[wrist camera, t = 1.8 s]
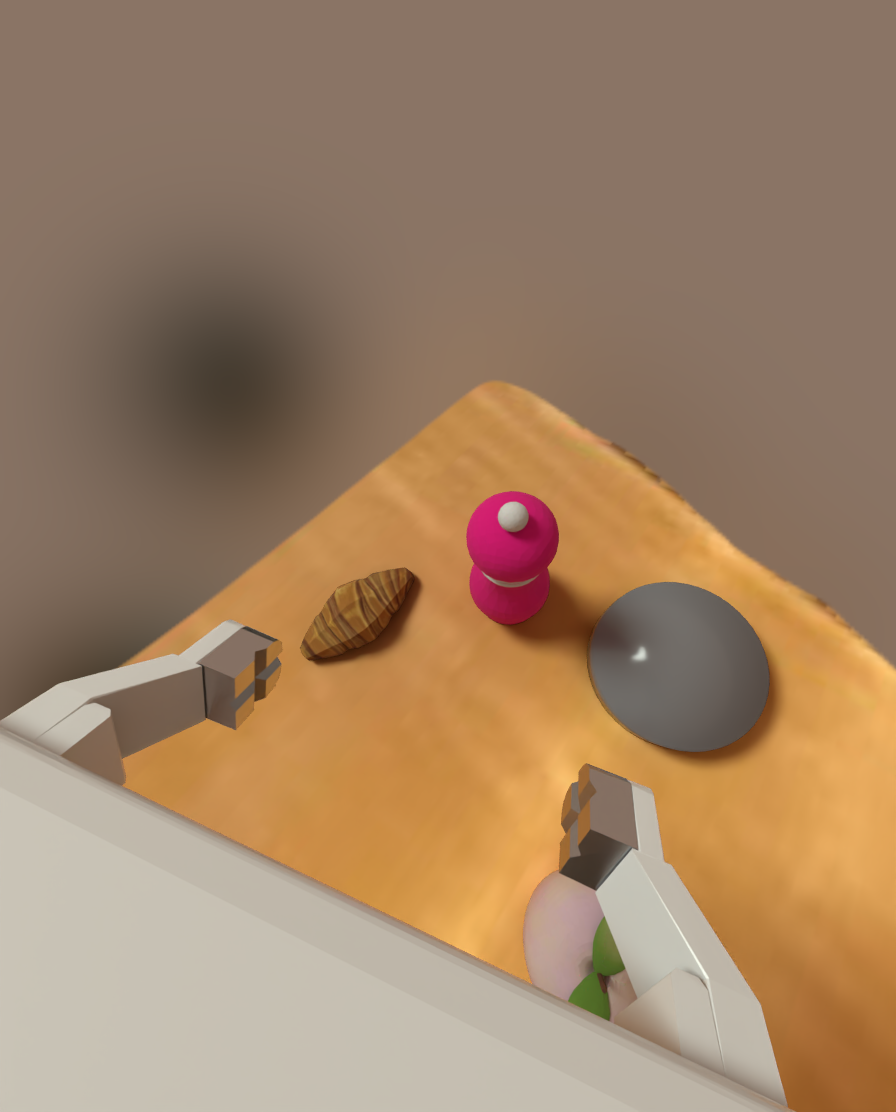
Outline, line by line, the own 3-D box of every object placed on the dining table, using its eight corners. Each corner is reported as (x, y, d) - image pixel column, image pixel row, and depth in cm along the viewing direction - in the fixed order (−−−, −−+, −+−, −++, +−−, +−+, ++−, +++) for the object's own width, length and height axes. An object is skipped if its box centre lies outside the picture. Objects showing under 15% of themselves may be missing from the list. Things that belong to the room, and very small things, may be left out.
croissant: (326, 685, 43) (305, 683, 38) (293, 632, 45) (268, 624, 40) (433, 600, 44) (425, 588, 39) (396, 553, 46) (384, 536, 42)
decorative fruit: (537, 825, 36) (550, 868, 27) (637, 866, 35) (687, 928, 25) (506, 953, 34) (507, 1049, 25) (611, 1004, 32) (656, 1129, 23)
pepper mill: (547, 563, 44) (582, 458, 25) (542, 634, 41) (575, 578, 23) (477, 556, 45) (459, 451, 26) (468, 625, 43) (441, 564, 24)
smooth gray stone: (766, 749, 36) (788, 753, 33) (595, 746, 38) (602, 750, 35) (731, 588, 41) (748, 579, 38) (579, 592, 42) (585, 584, 40)
